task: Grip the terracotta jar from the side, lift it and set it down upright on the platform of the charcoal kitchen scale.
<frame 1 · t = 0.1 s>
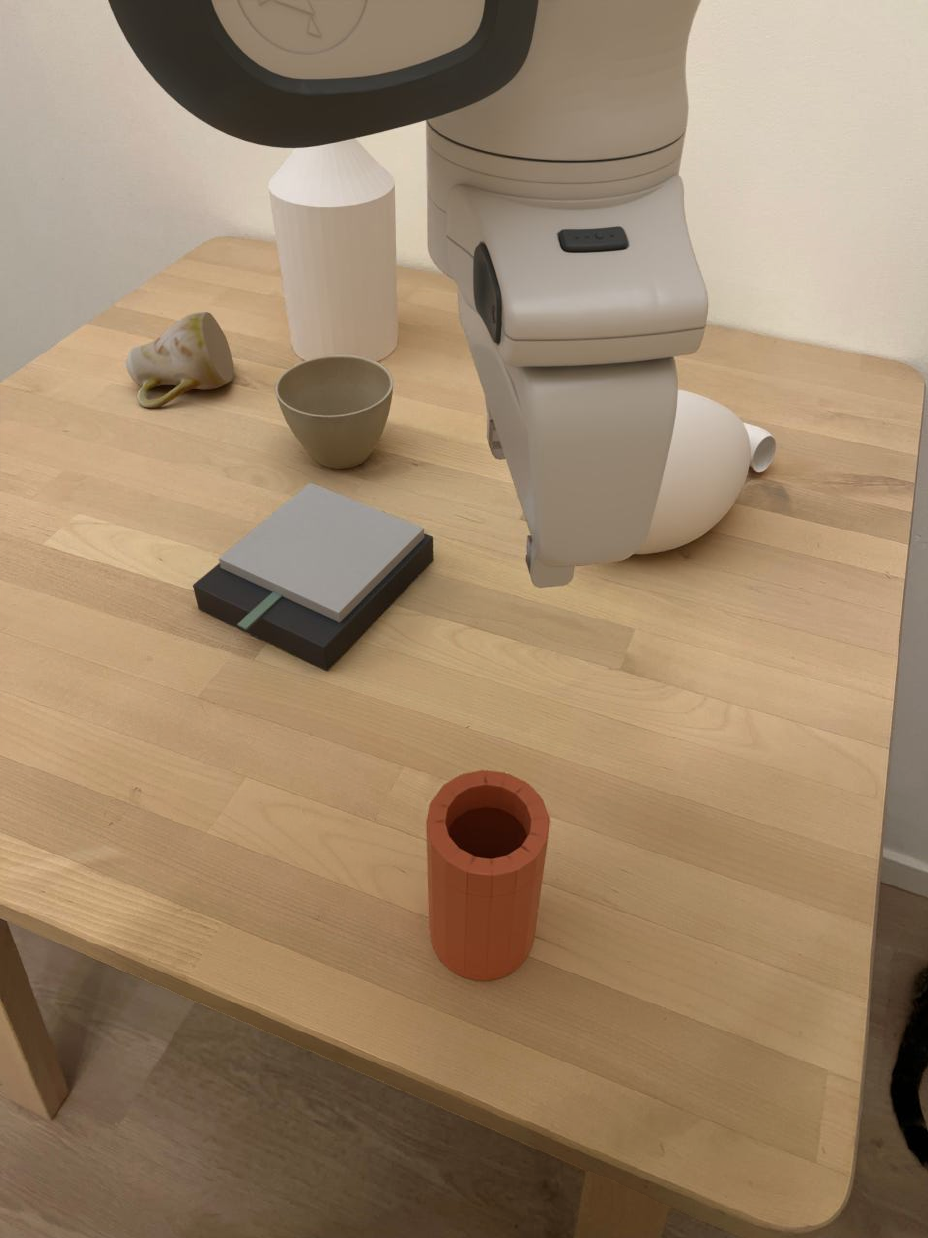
hand: (525, 508, 43), 22 cm above the table, tool pointing down, fingers open, 8 cm apart
mug: (183, 388, 92), on the table
stomach: (624, 489, 81), on the table
scale: (319, 584, 72), on the table
jar: (482, 930, 52), on the table
bottle: (345, 342, 99), on the table
olive grey bowl: (341, 455, 85), on the table
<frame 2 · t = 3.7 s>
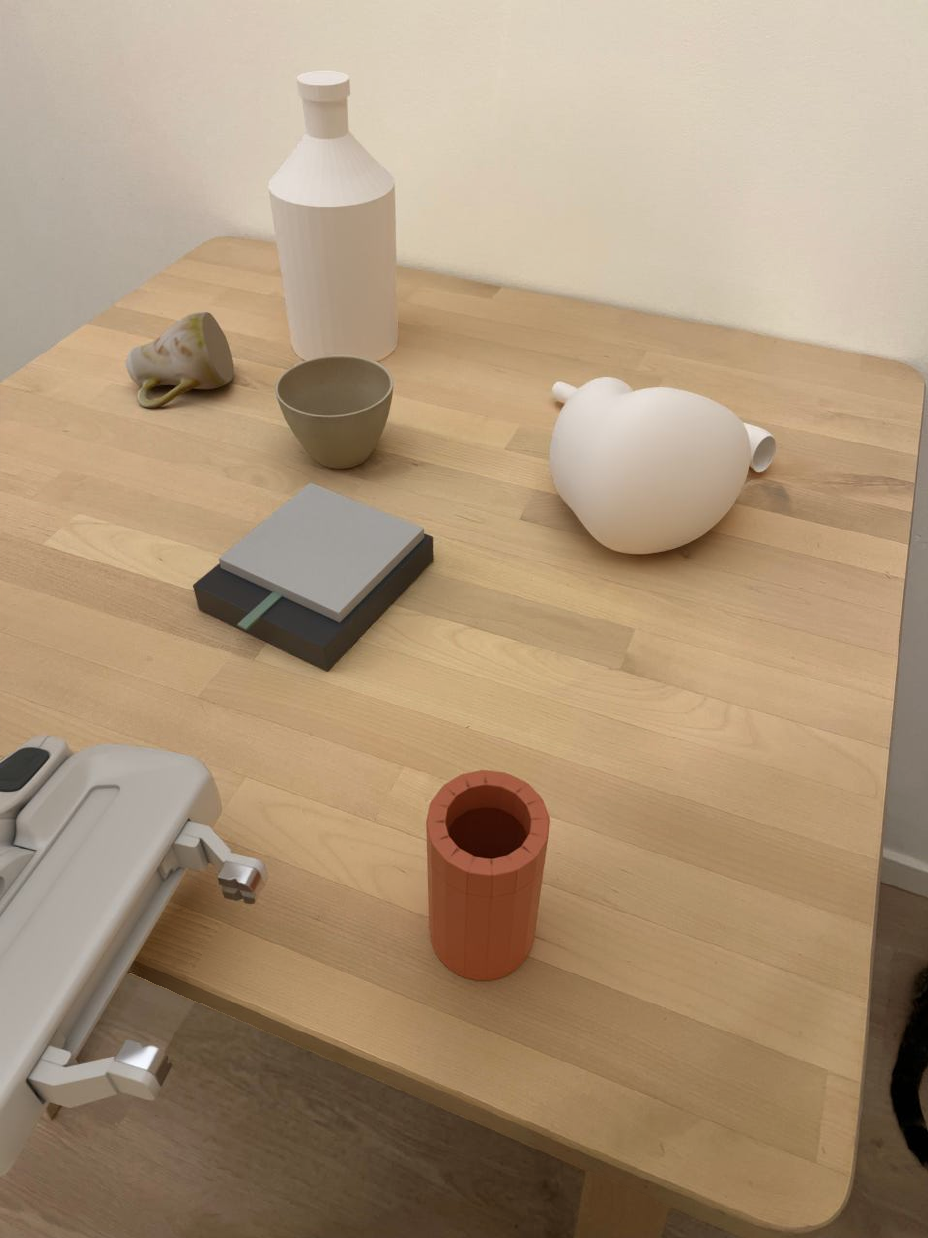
hand: (215, 971, 42), 8 cm above the table, tool horizontal, fingers open, 8 cm apart
nothing on the table moved.
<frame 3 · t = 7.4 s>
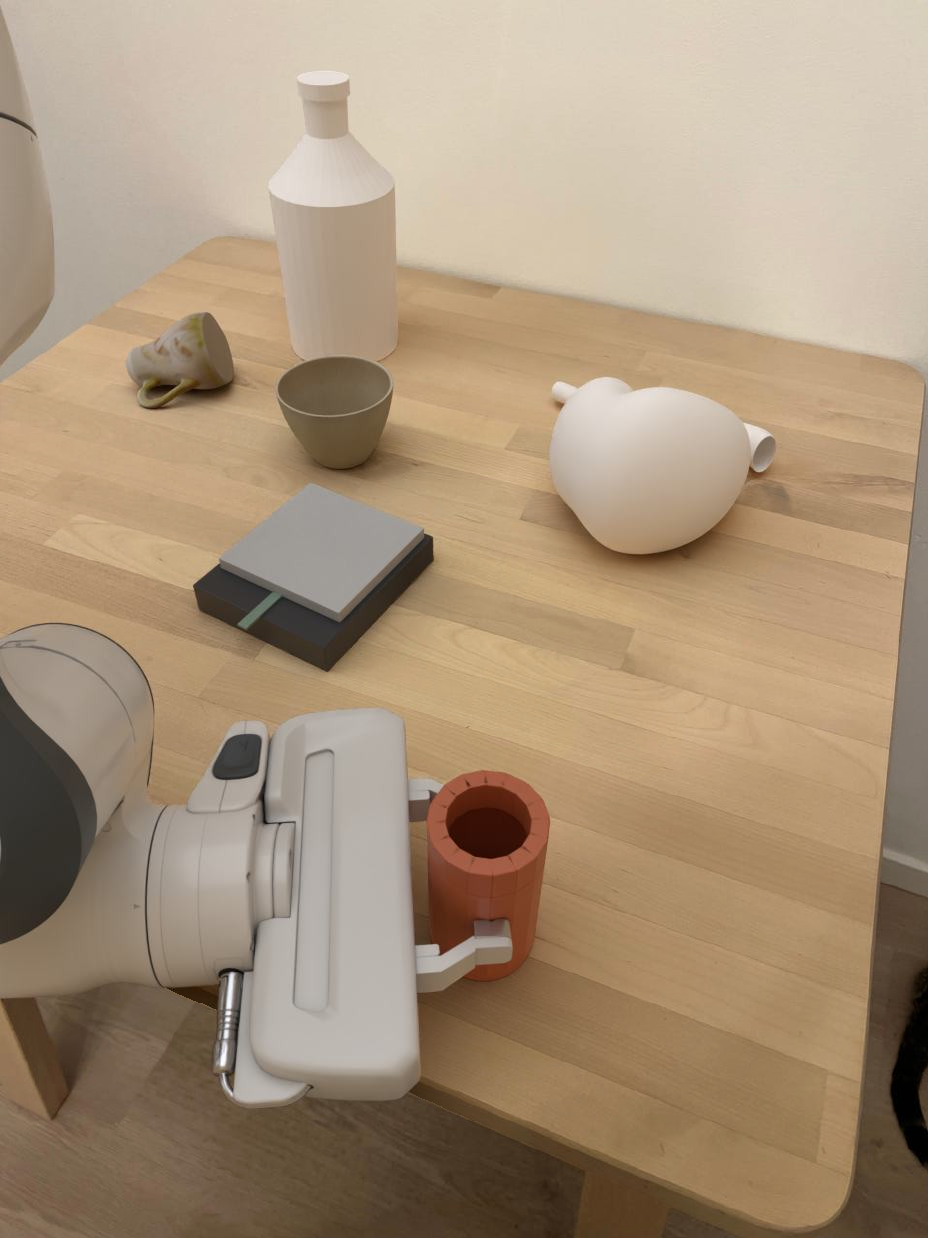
hand: (502, 872, 48), 6 cm above the table, tool horizontal, fingers closed on jar, 6 cm apart
jar: (482, 930, 52), on the table, touching gripper
everything else where it was.
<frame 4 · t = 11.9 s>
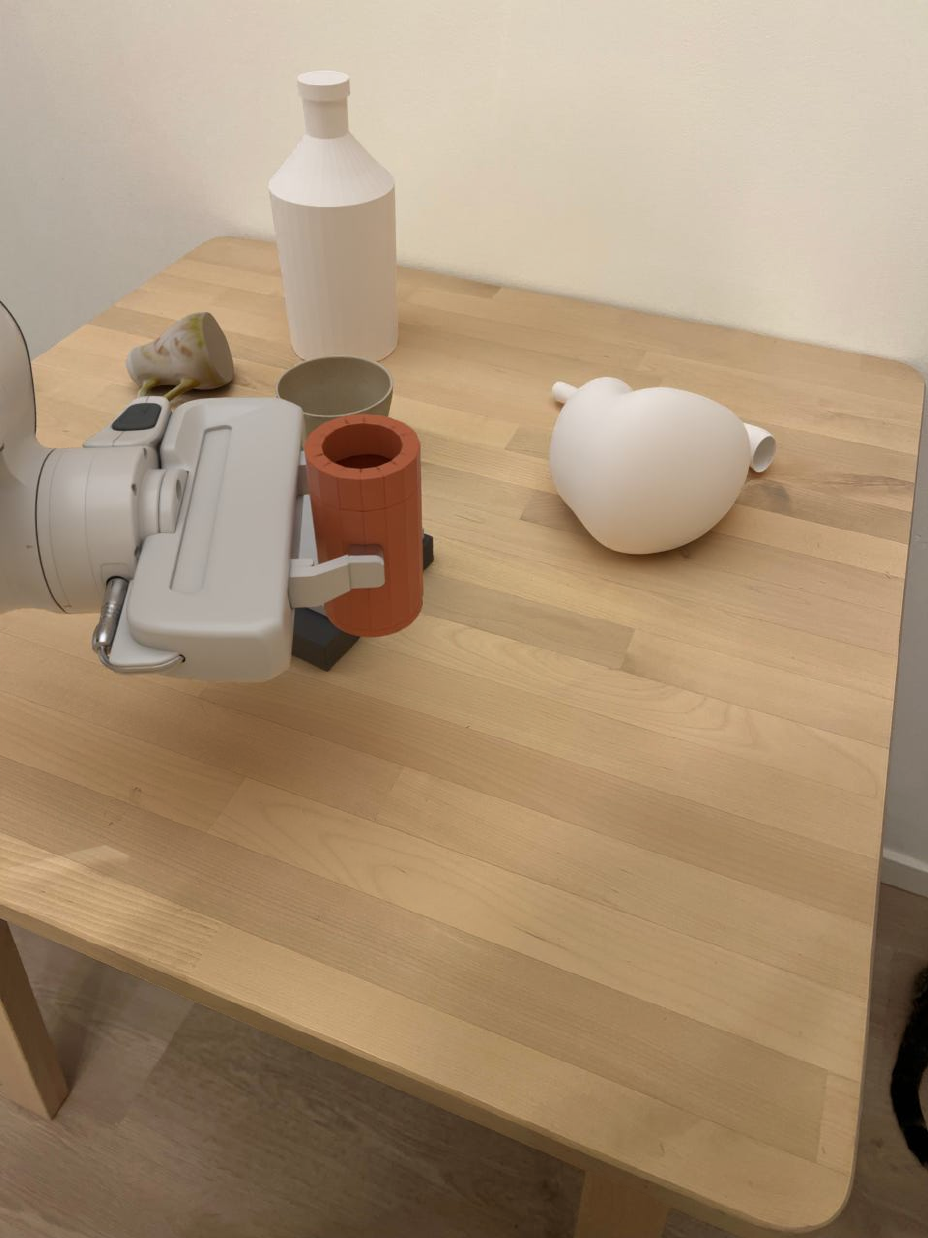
hand: (383, 520, 51), 17 cm above the table, tool horizontal, fingers closed on jar, 6 cm apart
jar: (373, 602, 55), point 11 cm above the table, touching gripper
everything else where it was.
when the fingers open (9 cm above the table, at t = 16.3 s): jar stays where it is, resting on scale.
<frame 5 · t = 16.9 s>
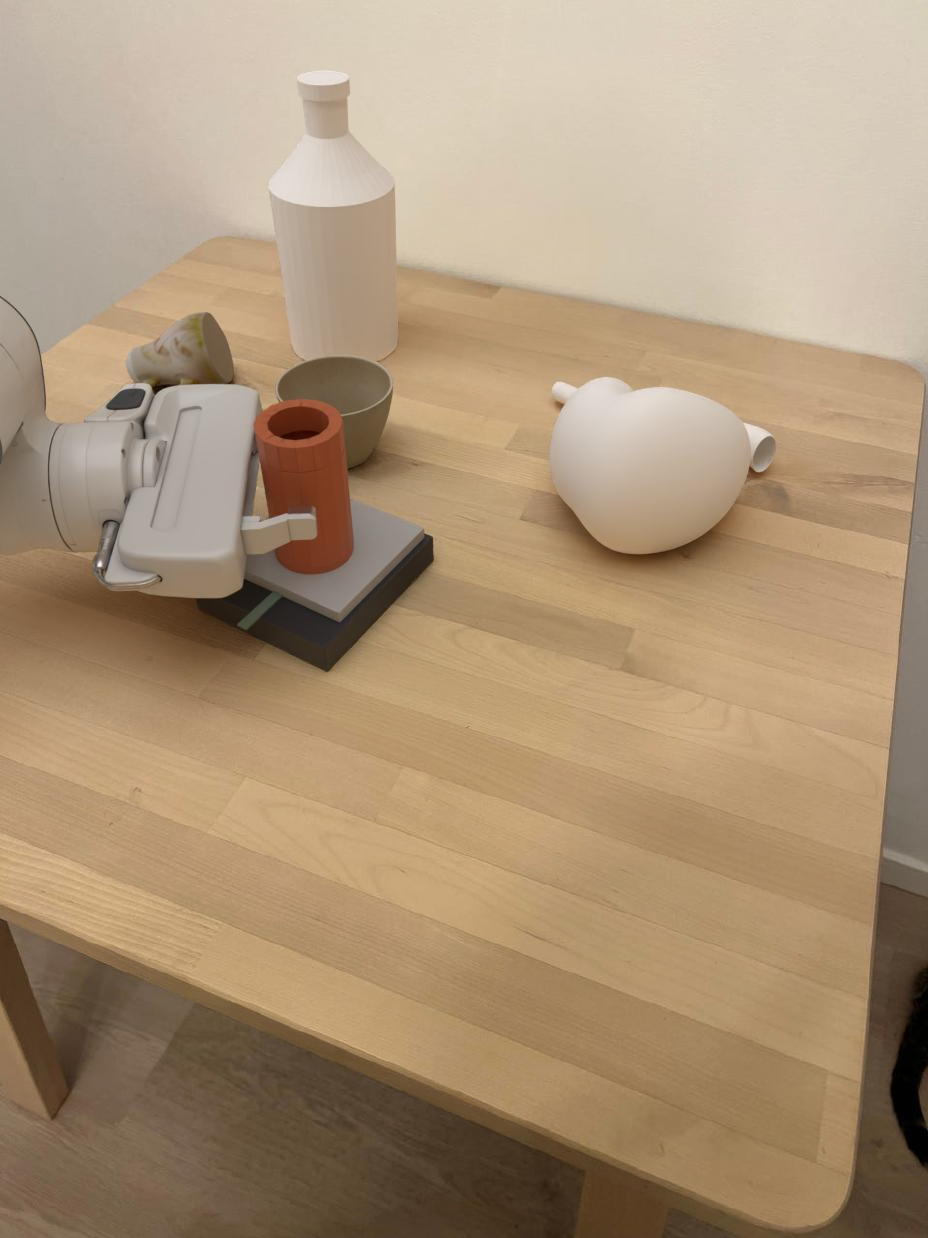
hand: (319, 479, 65), 10 cm above the table, tool horizontal, fingers open, 8 cm apart
jar: (314, 548, 70), point 3 cm above the table, touching scale
everything else where it was.
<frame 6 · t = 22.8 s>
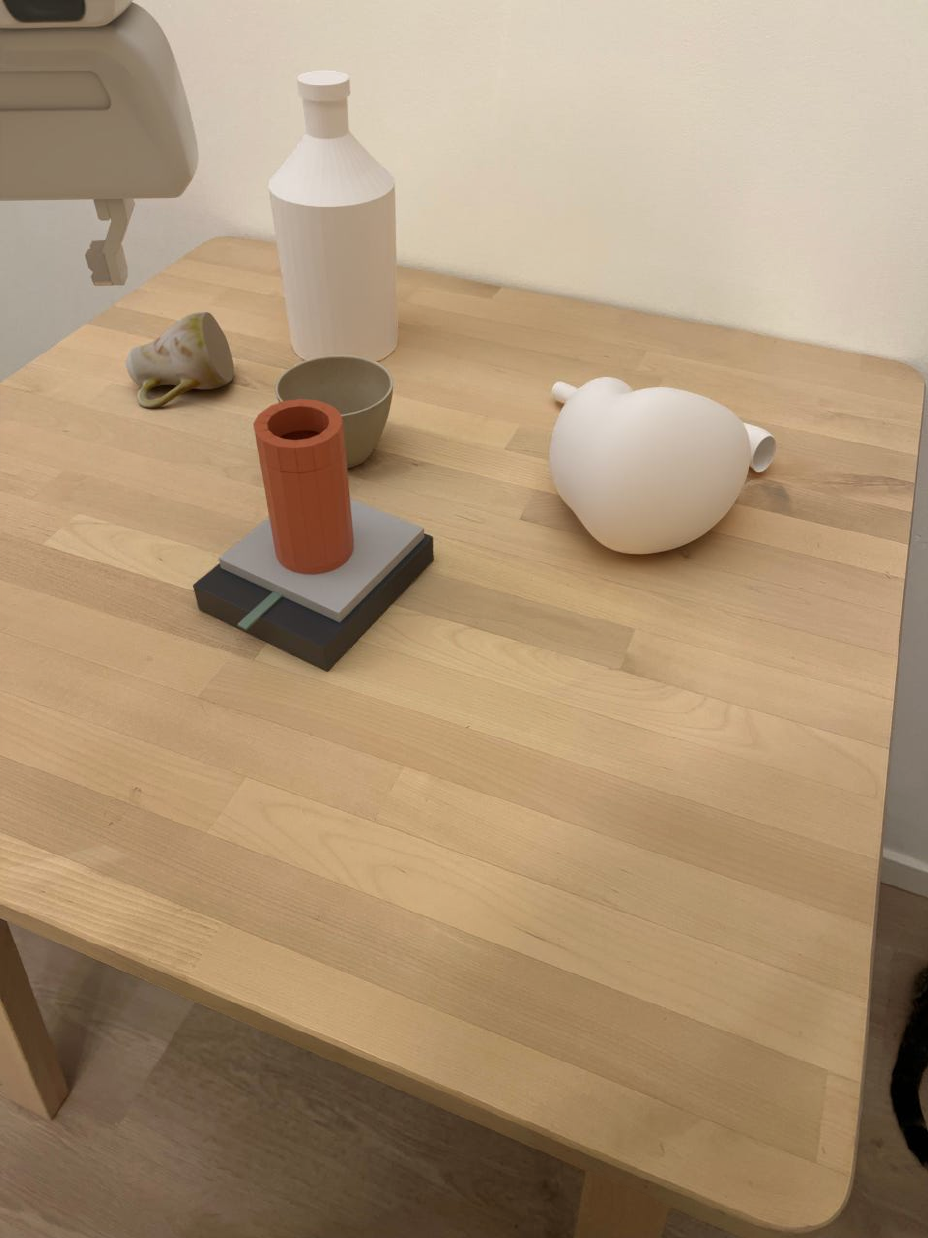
hand: (18, 283, 48), 27 cm above the table, tool pointing down, fingers open, 8 cm apart
nothing on the table moved.
at the end: jar inside the target area on the scale (0.9 cm from its centre), point 3.5 cm above the scale's base; jar tilted 0°; the gripper is holding nothing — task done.
